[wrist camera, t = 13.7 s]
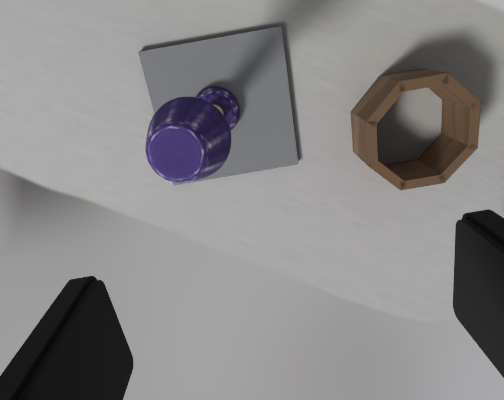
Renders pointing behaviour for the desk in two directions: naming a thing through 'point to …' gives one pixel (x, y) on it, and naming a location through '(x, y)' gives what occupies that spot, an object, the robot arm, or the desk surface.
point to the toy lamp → (192, 135)
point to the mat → (233, 92)
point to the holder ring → (441, 150)
